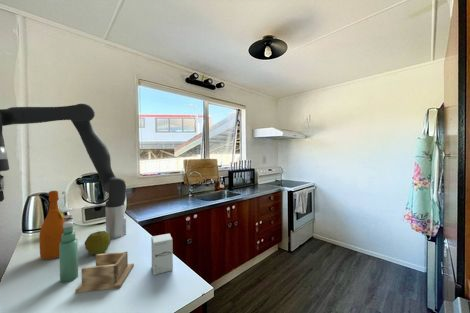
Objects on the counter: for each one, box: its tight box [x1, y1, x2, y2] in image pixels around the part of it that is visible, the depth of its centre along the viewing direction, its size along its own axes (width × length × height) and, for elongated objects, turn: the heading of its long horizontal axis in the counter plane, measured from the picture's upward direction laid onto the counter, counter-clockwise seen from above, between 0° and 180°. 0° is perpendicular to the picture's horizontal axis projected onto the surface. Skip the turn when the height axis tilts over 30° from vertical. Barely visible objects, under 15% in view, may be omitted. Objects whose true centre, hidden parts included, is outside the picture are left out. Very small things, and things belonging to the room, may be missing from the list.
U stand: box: [74, 251, 135, 294], centre depth 75 cm, size 14×14×7 cm
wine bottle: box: [38, 190, 66, 260], centre depth 93 cm, size 10×10×30 cm
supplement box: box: [151, 233, 174, 276], centre depth 81 cm, size 7×7×13 cm
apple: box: [84, 230, 111, 256], centre depth 95 cm, size 10×10×11 cm
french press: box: [59, 191, 76, 232], centre depth 120 cm, size 10×12×25 cm
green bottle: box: [59, 220, 79, 284], centre depth 75 cm, size 5×5×21 cm
